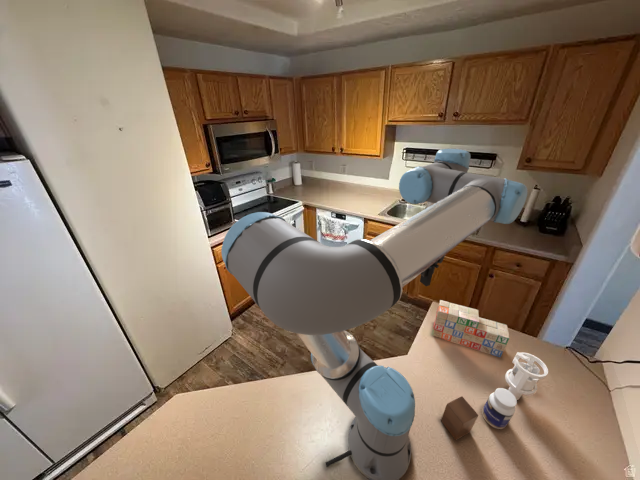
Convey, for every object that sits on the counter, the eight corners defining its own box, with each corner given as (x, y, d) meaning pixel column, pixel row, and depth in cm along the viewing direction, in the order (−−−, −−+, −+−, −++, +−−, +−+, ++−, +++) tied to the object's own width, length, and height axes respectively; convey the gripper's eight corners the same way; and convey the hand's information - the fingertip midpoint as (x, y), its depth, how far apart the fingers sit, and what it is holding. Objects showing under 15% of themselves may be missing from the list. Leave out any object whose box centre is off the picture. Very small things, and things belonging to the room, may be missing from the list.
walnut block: (455, 440, 65) (463, 423, 61) (440, 420, 69) (447, 403, 65) (470, 431, 67) (478, 415, 63) (454, 412, 71) (462, 396, 67)
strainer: (503, 377, 79) (520, 345, 72) (531, 394, 75) (552, 361, 67) (495, 393, 75) (513, 360, 68) (524, 412, 70) (546, 379, 63)
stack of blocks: (498, 343, 90) (510, 318, 84) (500, 358, 85) (513, 332, 79) (433, 323, 99) (439, 299, 93) (431, 335, 94) (438, 310, 88)
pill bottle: (476, 411, 71) (487, 389, 66) (492, 403, 73) (503, 382, 68) (495, 433, 66) (507, 412, 62) (511, 425, 68) (525, 403, 63)
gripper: (448, 203, 73) (432, 271, 84) (410, 210, 68) (399, 281, 80) (471, 212, 66) (450, 285, 78) (431, 221, 62) (415, 296, 74)
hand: (424, 283), depth 79 cm, fingers closed
